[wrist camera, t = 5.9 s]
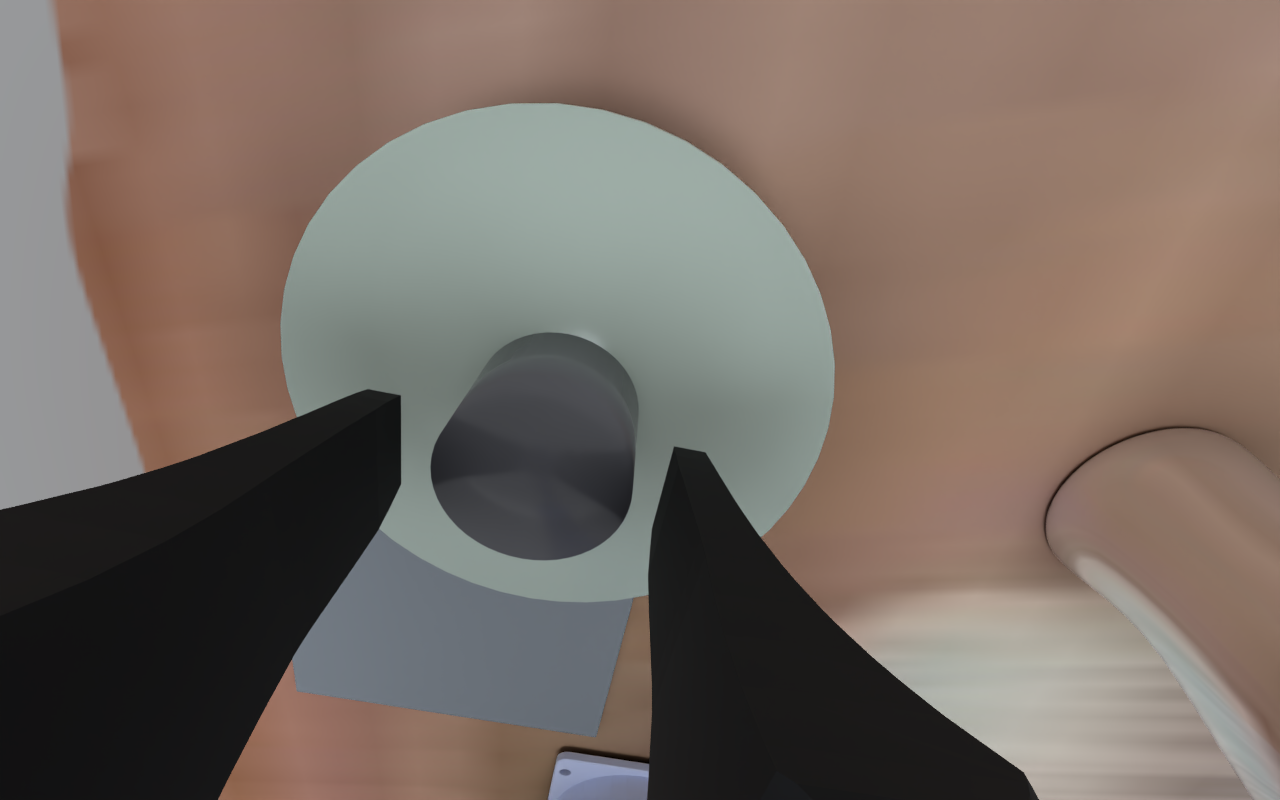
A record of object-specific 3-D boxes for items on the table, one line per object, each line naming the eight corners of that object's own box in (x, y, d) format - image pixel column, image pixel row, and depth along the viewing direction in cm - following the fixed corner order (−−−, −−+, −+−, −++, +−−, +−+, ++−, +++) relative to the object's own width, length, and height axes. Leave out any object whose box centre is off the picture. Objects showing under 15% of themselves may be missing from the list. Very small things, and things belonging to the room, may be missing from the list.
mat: (596, 730, 25) (596, 737, 25) (300, 684, 25) (296, 691, 24) (657, 505, 19) (657, 510, 19) (266, 434, 19) (260, 439, 18)
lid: (741, 616, 16) (759, 733, 13) (316, 544, 16) (234, 651, 13) (919, 179, 11) (1019, 210, 8) (266, 35, 10) (96, 8, 7)
